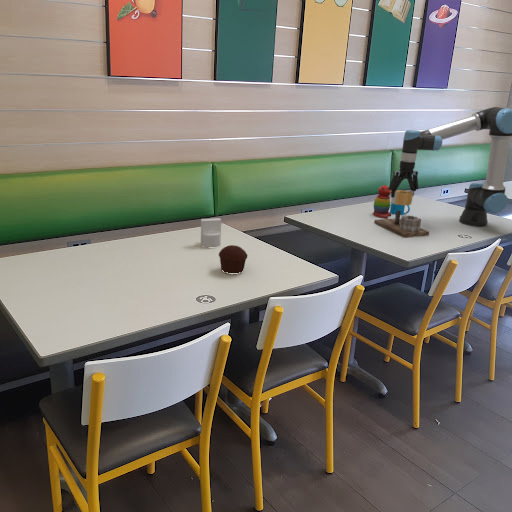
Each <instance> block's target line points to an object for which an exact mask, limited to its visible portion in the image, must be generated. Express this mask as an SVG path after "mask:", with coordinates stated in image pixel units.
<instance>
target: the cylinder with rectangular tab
mask: <svg viewBox="0 0 512 512" xmlns="http://www.w3.org/2000/svg"><path fill="white" fill-rule="evenodd" d="M221 237H222V218H220V217H216V218H215V217H214V218H201V219H200V246H201V245H202V246H204V247H203V248H205V247H217V246H220V247H221V243H222V242H221V240H222V239H221ZM202 246H201V247H202ZM217 248H218V247H217Z"/></svg>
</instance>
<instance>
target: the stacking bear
mask: <svg viewBox="0 0 512 512" xmlns="http://www.w3.org/2000/svg"><path fill="white" fill-rule="evenodd" d="M391 192H392V191H391V190H389V186H387V185H386V184H384V185H381V186H379V187H378V195H376V197H375V199H374V201H373V212H372V216H374V217H375V218H380V219H389V217H392V216H393V214H391V213H390V207H391Z"/></svg>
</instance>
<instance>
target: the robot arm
mask: <svg viewBox="0 0 512 512" xmlns="http://www.w3.org/2000/svg"><path fill="white" fill-rule="evenodd" d="M482 130H489V133H488V135H489V137H490V138H491V139H490V140H491V142H490V149H489V155H488V163H487V170H486V177H485V178H486V179H485V183H478V182H471V183H469V186H468V189H467V196H466V199H465V200H466V201H465V205H464V206H465V207H464V210H463V211H462V213H461V215H460V216H459V219H458V222H459V223H461V224H463V225H467V226H472V227H486V225H487V226H488V223H489V222H488V213H490V214H499V213H500V212H502V211H504V210H505V209H506V208H507V206H508V203H509V198H508V197H507V195H506V186H504V179H505V174H506V173H505V172H506V168H507V167H506V165H507V161H508V160H507V159H508V154H509V153H508V152H509V147H510V142H511V139H512V109H511V108H509V107H499V106H493V107H488V108H485V109H481V110H479V111H477V112H473V113H472V114H471V115H469V116H467V117H464V118H461V119H457V120H454V121H451V122H448V123H445V124H442V125H437V126H436V127H432V128H428V129H425V130H422V131H421V130H416V129H415V130H413V129H407V130H405V132H404V135H403V143H402V149H401V155H400V162H399V170H398V171H397V170H394V171H393V176H392V178H391V181H390V184H389V186H388V187H389V190H391V194H390V204H391V203H393V204H395V202H396V195H397V191H396V190H398V188H399V187H400V184H401V183H402V182H403V181H404V180H407V182H408V184H409V188H410V189H409V190H408V191H409V192H412V193H413V196H412V198H413V197H414V195H415V192H416V191H417V190H419V181H418V180H419V179H418V175H419V171H417V170H415V166H416V160H417V154H418V150H419V151H421V150H422V151H433V152H434V151H439V150H440V149H441V148H442V147H443V141H444V140H447V139H450V138H453V137H455V136H456V137H457V136H460V135H463V134H466V133H469V132H472V131H477V132H478V131H482ZM412 202H413V201H412ZM412 202H411V204H412Z"/></svg>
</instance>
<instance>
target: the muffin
mask: <svg viewBox="0 0 512 512" xmlns="http://www.w3.org/2000/svg"><path fill="white" fill-rule="evenodd" d="M218 257H219V261H220V269H221V270H220V271H222V270H223V271H224V272H228V273H239V272H242V271H243V272H244V270H245V265H246V260H247V258H248V254H247V252H246V250H245V249H243V248H242V247H241V246H239V245H234V244H233V245H231V244H230V245H227V246H224V247H223V248H222V249H221V250H220V251H219V252H218ZM243 269H244V270H243ZM223 271H222V272H223ZM224 272H223V273H224Z"/></svg>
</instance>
